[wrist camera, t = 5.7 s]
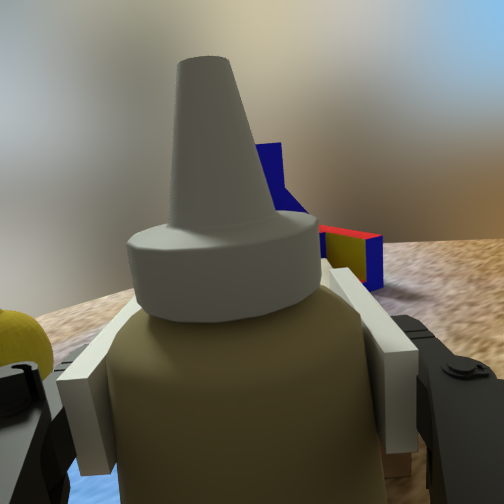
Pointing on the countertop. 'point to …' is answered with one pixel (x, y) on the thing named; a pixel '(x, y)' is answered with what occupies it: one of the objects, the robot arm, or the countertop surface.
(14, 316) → the lemon
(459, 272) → the countertop surface
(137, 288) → the squeeze bottle
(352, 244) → the building blocks toy
